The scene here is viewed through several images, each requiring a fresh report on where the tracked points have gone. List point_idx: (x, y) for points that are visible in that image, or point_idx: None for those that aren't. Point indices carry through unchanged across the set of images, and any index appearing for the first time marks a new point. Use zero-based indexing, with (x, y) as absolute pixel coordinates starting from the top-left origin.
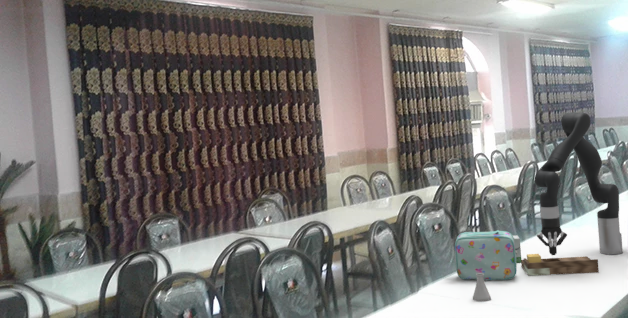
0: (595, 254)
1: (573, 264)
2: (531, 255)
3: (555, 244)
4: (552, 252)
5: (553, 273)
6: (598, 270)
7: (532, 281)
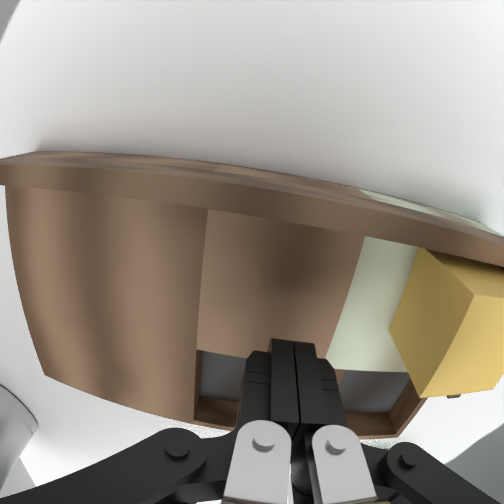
0: (46, 418)
1: (138, 165)
2: (500, 350)
3: (254, 457)
4: (309, 363)
5: (331, 184)
6: (28, 153)
7: (500, 92)
